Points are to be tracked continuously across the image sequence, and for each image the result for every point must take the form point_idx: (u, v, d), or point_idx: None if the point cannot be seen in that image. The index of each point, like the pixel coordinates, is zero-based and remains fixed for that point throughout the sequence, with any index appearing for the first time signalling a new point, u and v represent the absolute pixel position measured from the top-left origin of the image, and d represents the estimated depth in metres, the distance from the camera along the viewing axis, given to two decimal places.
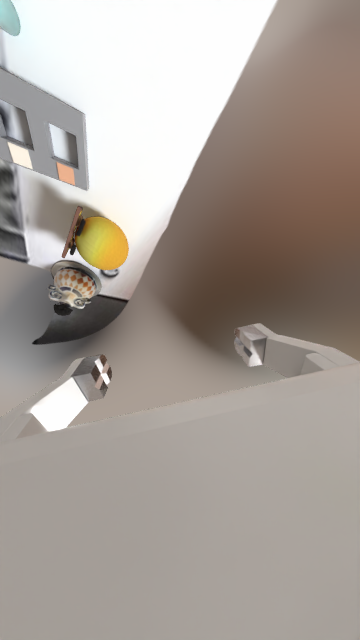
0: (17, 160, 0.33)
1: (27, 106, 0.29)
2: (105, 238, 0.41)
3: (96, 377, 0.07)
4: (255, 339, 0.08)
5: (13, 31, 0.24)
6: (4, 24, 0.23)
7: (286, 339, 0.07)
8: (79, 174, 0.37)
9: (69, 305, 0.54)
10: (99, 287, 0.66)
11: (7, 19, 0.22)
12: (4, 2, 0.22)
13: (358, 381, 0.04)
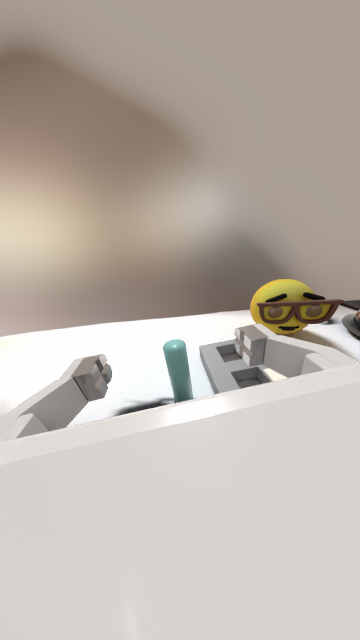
0: None
1: (225, 370, 0.29)
2: (263, 289, 0.39)
3: (96, 377, 0.07)
4: (255, 339, 0.08)
5: None
6: None
7: (286, 340, 0.07)
8: None
9: None
10: None
11: None
12: None
13: (358, 381, 0.04)
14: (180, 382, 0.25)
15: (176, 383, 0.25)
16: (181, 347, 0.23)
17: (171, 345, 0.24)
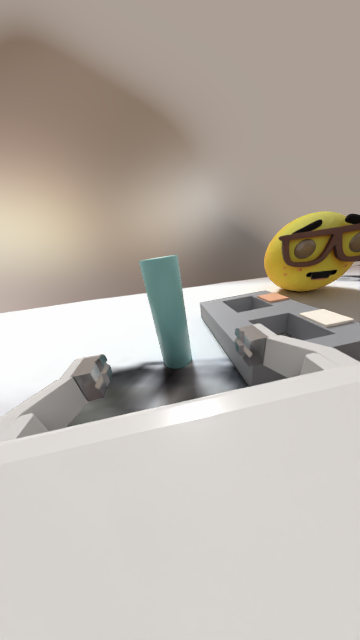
0: (340, 317, 0.16)
1: (239, 320, 0.19)
2: (283, 230, 0.30)
3: (96, 377, 0.07)
4: (255, 339, 0.08)
5: None
6: None
7: (286, 340, 0.07)
8: (255, 296, 0.27)
9: None
10: None
11: None
12: None
13: (358, 381, 0.04)
14: (171, 325, 0.15)
15: (164, 327, 0.15)
16: (169, 256, 0.13)
17: (154, 258, 0.14)
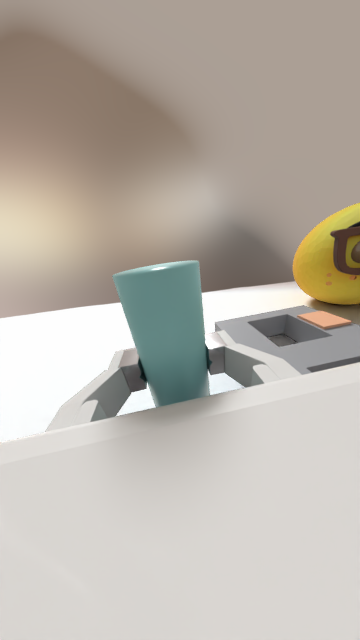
0: None
1: (290, 364, 0.12)
2: (325, 223, 0.22)
3: (140, 368, 0.08)
4: (213, 347, 0.07)
5: None
6: None
7: (242, 349, 0.07)
8: (293, 314, 0.19)
9: None
10: None
11: None
12: None
13: (358, 381, 0.04)
14: None
15: None
16: (183, 264, 0.06)
17: (147, 268, 0.06)
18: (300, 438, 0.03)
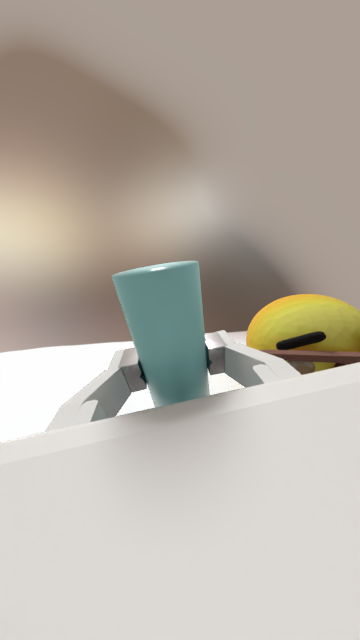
0: None
1: None
2: (269, 314, 0.21)
3: (140, 368, 0.08)
4: (213, 347, 0.07)
5: None
6: None
7: (241, 348, 0.07)
8: None
9: None
10: None
11: None
12: None
13: (358, 381, 0.04)
14: None
15: None
16: (182, 265, 0.06)
17: (146, 268, 0.06)
18: (300, 438, 0.03)
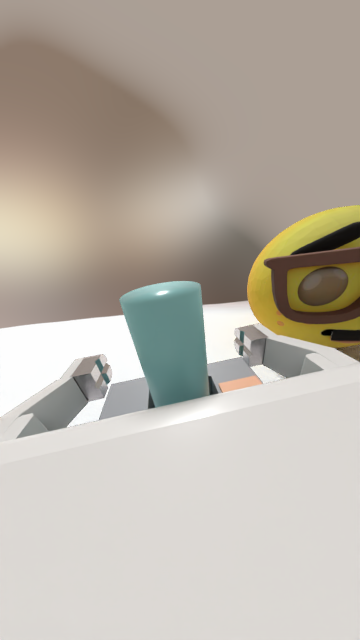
0: None
1: None
2: (276, 240, 0.16)
3: (96, 377, 0.07)
4: (255, 339, 0.08)
5: None
6: None
7: (286, 340, 0.07)
8: (220, 375, 0.13)
9: None
10: None
11: None
12: None
13: (358, 381, 0.04)
14: None
15: None
16: (185, 290, 0.06)
17: (152, 291, 0.07)
18: (300, 438, 0.03)
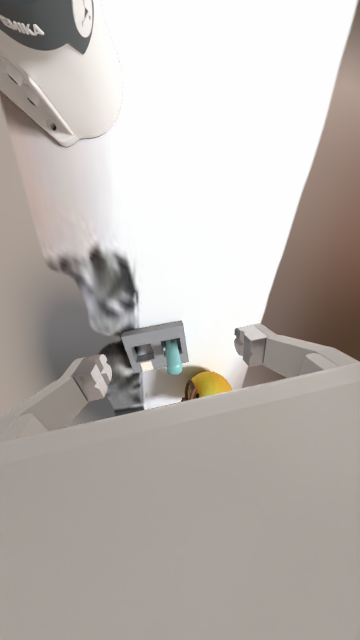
0: (145, 369, 0.44)
1: (151, 340, 0.41)
2: None
3: (96, 377, 0.07)
4: (255, 339, 0.08)
5: None
6: None
7: (286, 339, 0.07)
8: (182, 355, 0.45)
9: None
10: None
11: None
12: (177, 347, 0.42)
13: (358, 381, 0.04)
14: None
15: (166, 351, 0.40)
16: (172, 373, 0.35)
17: (175, 368, 0.35)
18: (300, 438, 0.03)
